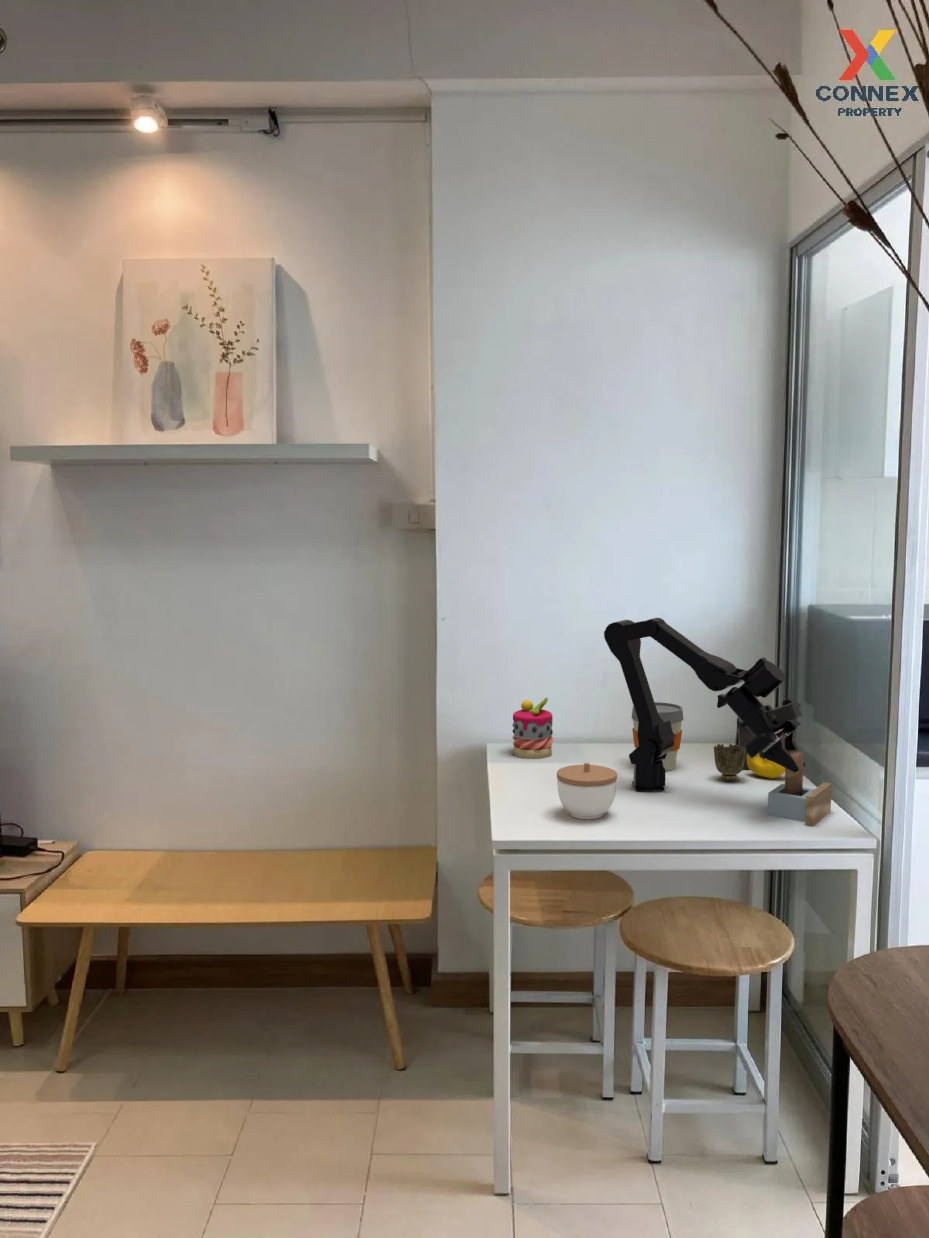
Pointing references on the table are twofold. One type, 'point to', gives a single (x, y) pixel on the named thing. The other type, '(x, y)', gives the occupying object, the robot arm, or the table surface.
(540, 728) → the cake
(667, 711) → the reusable coffee cup
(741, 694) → the robot arm
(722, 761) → the cup
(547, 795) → the table surface
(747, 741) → the phone stand
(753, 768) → the duckling
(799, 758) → the dowel
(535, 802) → the table surface
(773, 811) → the socket block
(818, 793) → the backstop board
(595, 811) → the lidded bowl
